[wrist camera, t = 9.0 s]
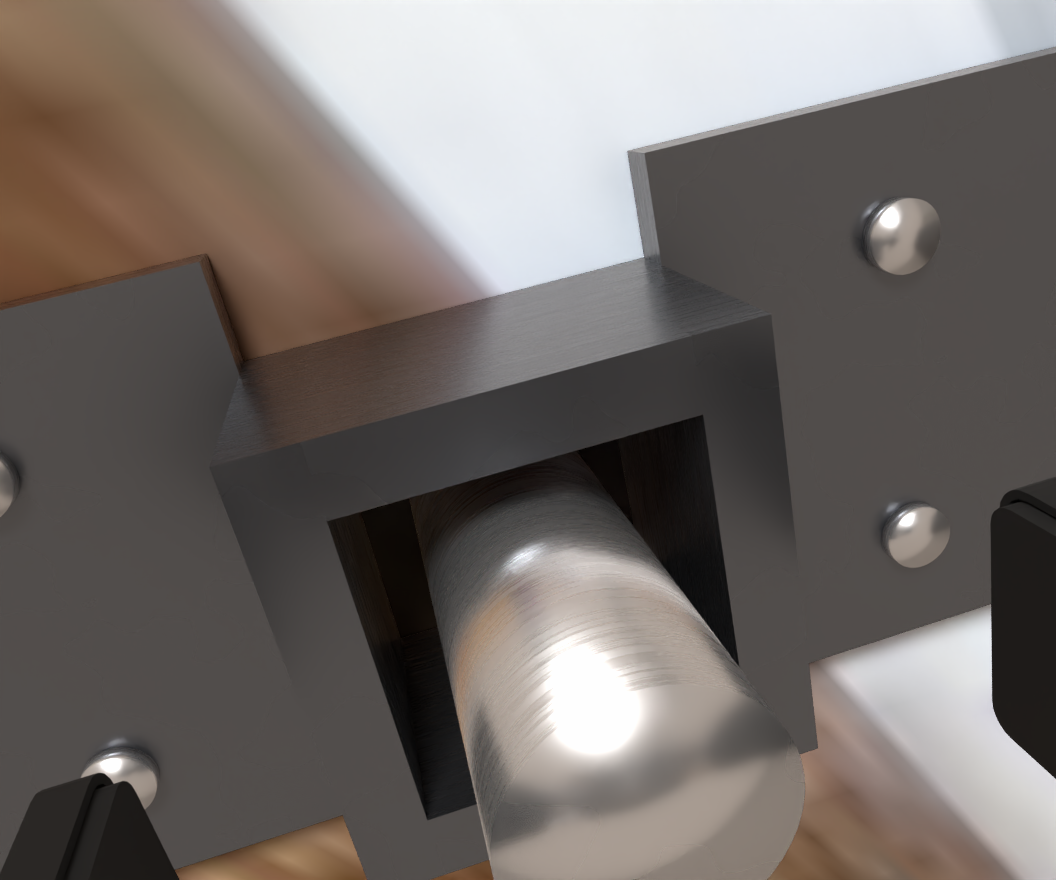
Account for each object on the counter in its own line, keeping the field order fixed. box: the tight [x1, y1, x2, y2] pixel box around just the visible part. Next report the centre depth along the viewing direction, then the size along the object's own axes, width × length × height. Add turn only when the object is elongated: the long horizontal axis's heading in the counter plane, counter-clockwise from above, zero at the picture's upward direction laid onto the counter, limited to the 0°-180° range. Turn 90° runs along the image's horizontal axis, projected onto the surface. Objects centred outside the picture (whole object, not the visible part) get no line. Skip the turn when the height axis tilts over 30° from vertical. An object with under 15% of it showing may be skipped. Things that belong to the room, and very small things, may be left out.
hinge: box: [0, 47, 1056, 880], centre depth 13 cm, size 23×10×4 cm, turn 103°
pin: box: [410, 451, 805, 880], centre depth 12 cm, size 3×3×8 cm
